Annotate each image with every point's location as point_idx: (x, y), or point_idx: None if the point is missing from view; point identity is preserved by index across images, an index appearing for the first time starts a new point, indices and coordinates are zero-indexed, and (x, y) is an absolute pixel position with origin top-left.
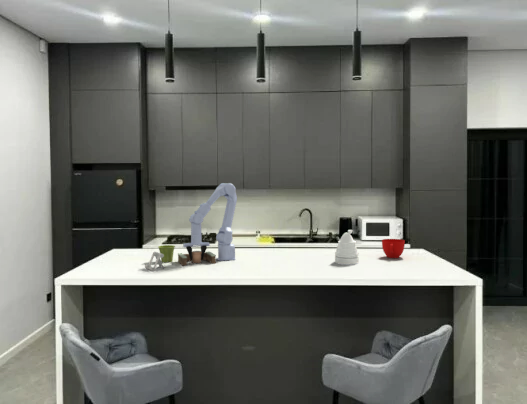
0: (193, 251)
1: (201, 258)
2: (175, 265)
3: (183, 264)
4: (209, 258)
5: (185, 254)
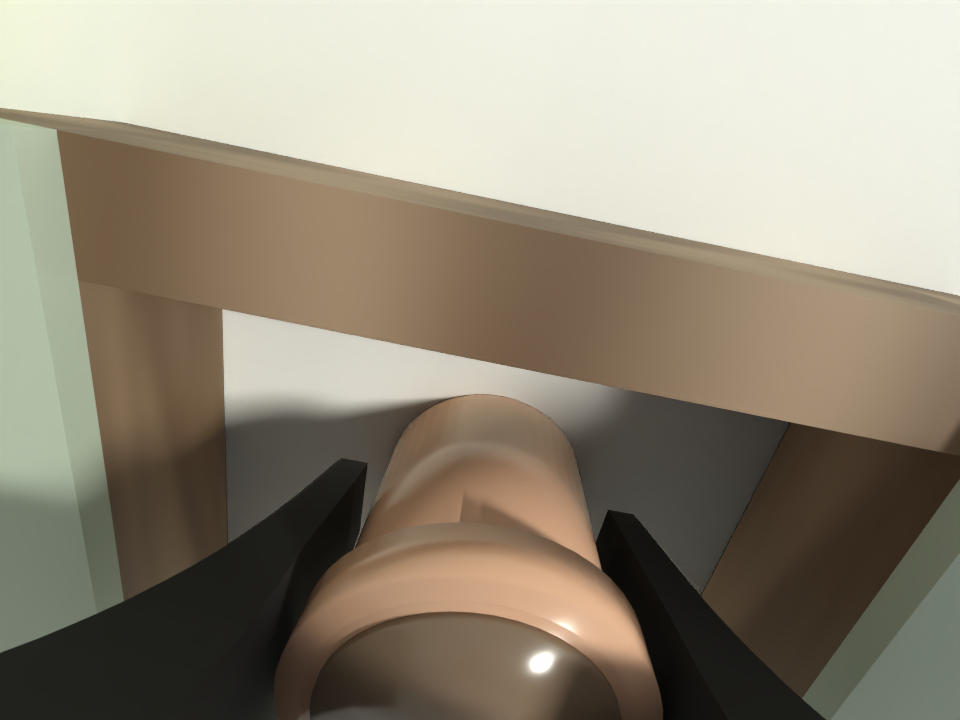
0: (361, 689)
1: (599, 552)
2: None
3: None
4: (749, 629)
5: (188, 296)
